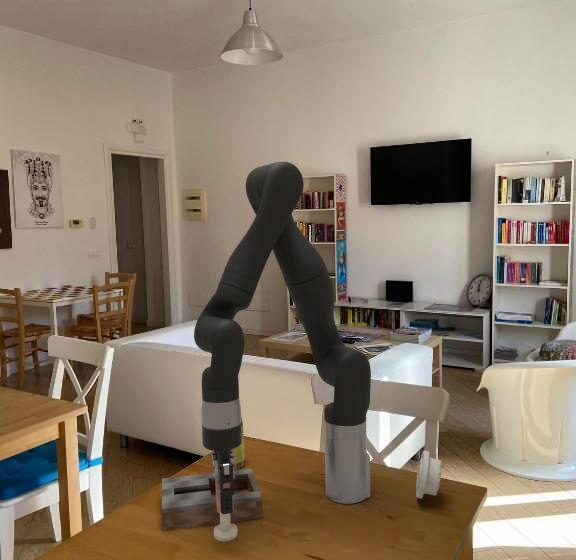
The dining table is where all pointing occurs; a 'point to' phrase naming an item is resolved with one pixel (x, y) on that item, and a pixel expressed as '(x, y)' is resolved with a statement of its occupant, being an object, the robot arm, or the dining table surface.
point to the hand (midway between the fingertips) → (224, 502)
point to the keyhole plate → (212, 512)
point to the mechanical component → (428, 475)
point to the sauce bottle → (239, 453)
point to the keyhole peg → (224, 521)
